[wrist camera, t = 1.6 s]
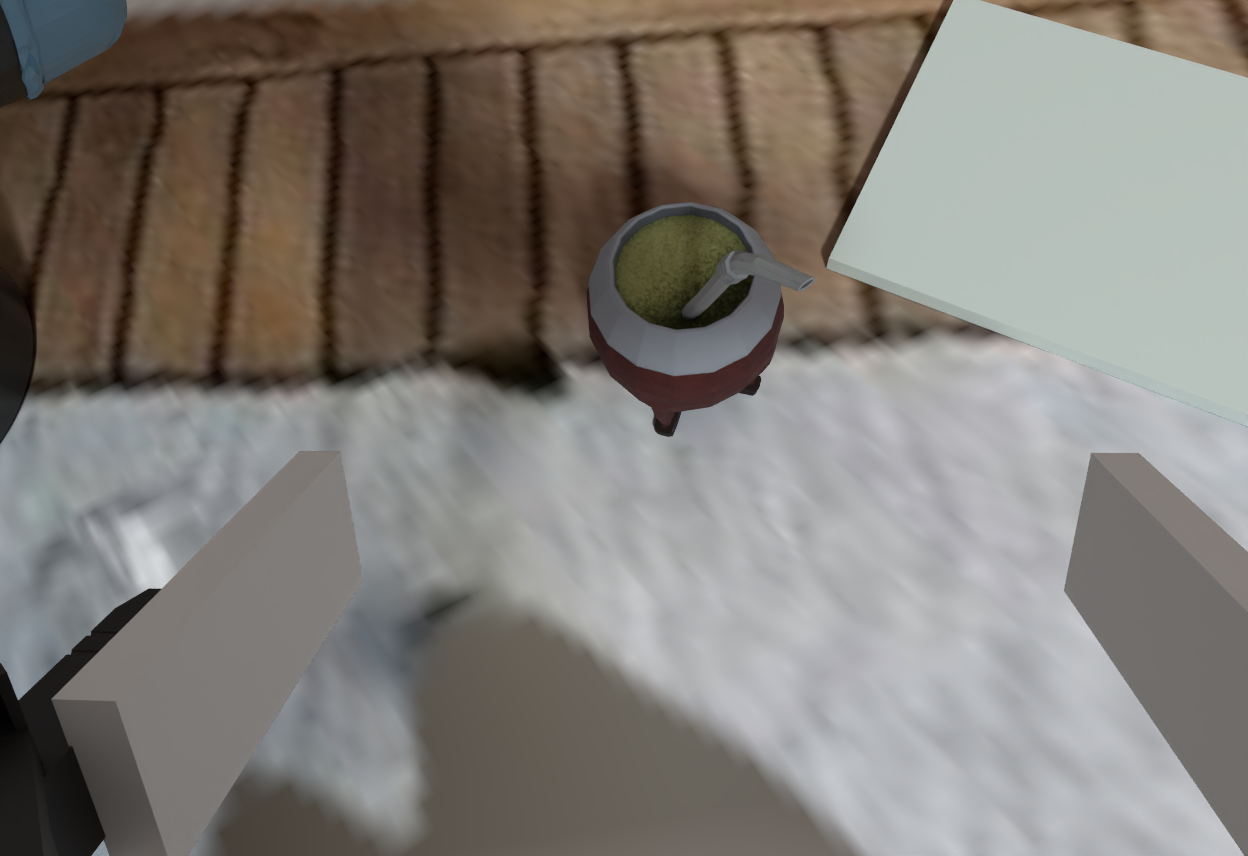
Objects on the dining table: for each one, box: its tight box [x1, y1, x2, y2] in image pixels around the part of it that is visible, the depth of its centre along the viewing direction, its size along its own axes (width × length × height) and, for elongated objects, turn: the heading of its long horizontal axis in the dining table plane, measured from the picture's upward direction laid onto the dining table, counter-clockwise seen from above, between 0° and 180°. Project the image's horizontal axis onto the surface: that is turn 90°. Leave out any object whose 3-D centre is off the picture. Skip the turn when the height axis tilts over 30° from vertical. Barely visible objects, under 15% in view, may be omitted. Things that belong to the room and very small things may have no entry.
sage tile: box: [826, 0, 1248, 426], centre depth 37 cm, size 22×16×1 cm
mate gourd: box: [587, 202, 816, 437], centre depth 29 cm, size 8×8×15 cm
